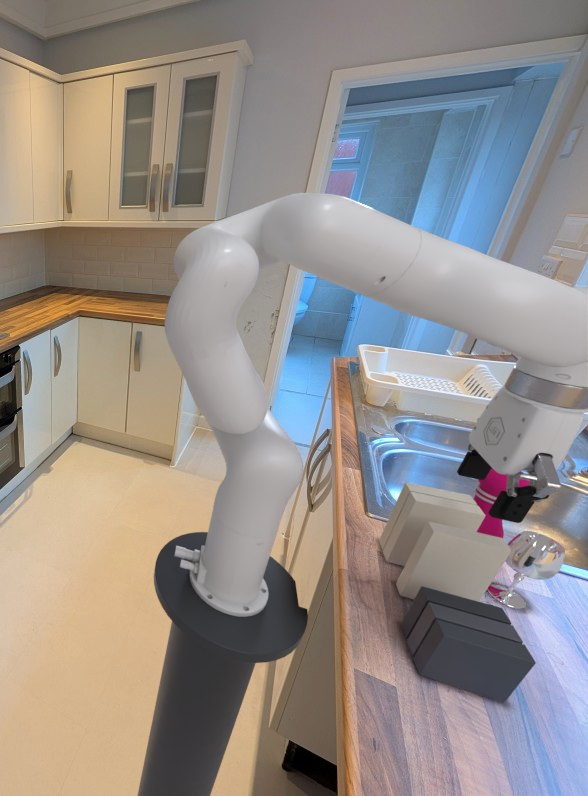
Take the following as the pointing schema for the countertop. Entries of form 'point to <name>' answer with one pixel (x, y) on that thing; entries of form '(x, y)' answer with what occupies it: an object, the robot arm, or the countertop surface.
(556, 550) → the wineglass
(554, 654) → the countertop surface
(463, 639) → the dark grey grooved block
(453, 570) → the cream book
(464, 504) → the beige rectangular block
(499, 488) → the pepper mill
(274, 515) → the robot arm
